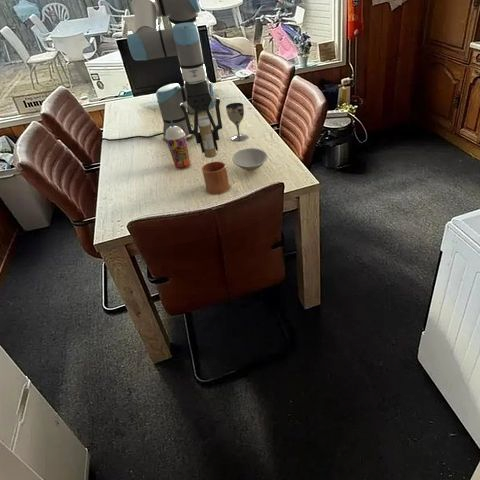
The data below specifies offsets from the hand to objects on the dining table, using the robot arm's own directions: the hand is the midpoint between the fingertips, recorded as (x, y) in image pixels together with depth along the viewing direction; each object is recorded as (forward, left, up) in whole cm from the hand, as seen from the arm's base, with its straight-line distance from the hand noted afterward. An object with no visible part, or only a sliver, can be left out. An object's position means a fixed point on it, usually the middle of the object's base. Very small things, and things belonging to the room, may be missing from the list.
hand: (209, 150), depth 139 cm
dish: (+9, +17, -16) cm, 25 cm away
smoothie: (-22, +18, -16) cm, 32 cm away
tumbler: (0, 0, -15) cm, 15 cm away
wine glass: (-5, +48, -16) cm, 51 cm away
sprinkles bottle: (0, 0, -2) cm, 2 cm away
